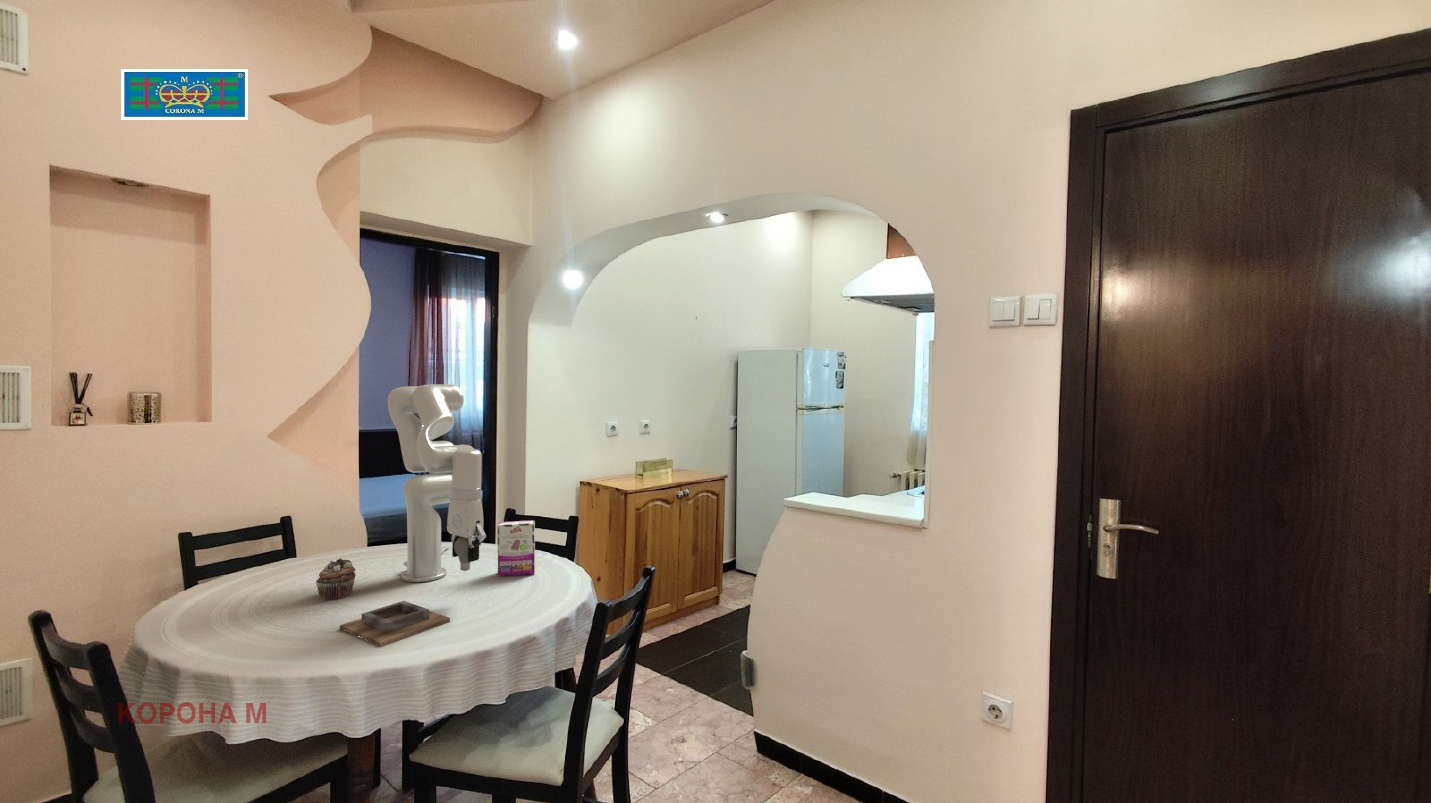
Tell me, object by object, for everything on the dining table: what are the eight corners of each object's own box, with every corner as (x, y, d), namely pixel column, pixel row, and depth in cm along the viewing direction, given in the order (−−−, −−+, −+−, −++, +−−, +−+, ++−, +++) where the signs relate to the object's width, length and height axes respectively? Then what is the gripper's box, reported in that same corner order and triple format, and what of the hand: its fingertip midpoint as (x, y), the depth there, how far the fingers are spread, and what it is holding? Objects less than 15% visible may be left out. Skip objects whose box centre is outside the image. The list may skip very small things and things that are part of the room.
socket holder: (339, 629, 156) (339, 615, 156) (408, 607, 172) (408, 594, 172) (381, 646, 147) (381, 631, 147) (450, 621, 162) (450, 608, 162)
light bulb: (481, 568, 178) (482, 533, 177) (466, 575, 172) (467, 539, 172) (464, 565, 180) (464, 530, 179) (448, 572, 174) (449, 536, 174)
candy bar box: (535, 570, 205) (535, 519, 205) (534, 574, 201) (534, 523, 200) (498, 572, 203) (498, 521, 202) (497, 576, 198) (497, 524, 197)
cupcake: (334, 588, 186) (334, 554, 185) (363, 591, 184) (363, 556, 183) (307, 599, 176) (307, 564, 176) (337, 602, 174) (337, 566, 174)
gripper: (434, 491, 176) (434, 555, 177) (475, 501, 167) (474, 568, 168) (458, 487, 182) (457, 549, 184) (498, 496, 173) (497, 561, 174)
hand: (465, 557), depth 176 cm, fingers closed on light bulb, 6 cm apart
